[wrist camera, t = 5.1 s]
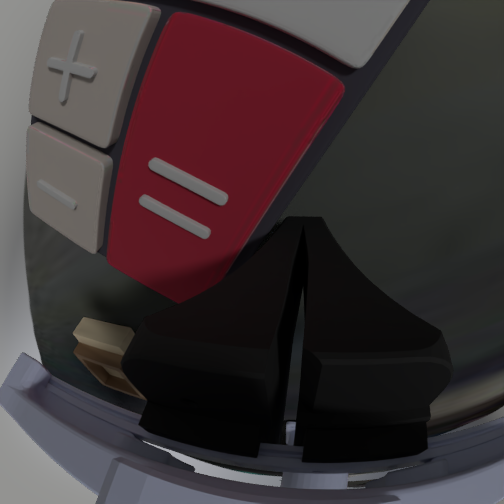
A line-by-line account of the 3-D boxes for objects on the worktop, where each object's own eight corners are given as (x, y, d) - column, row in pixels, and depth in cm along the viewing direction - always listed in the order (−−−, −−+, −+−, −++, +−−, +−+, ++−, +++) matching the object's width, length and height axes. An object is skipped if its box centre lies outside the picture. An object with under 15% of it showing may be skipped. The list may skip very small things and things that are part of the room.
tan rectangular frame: (164, 379, 24) (153, 406, 21) (120, 366, 25) (108, 390, 22) (131, 327, 19) (112, 360, 16) (83, 316, 20) (65, 343, 18)
